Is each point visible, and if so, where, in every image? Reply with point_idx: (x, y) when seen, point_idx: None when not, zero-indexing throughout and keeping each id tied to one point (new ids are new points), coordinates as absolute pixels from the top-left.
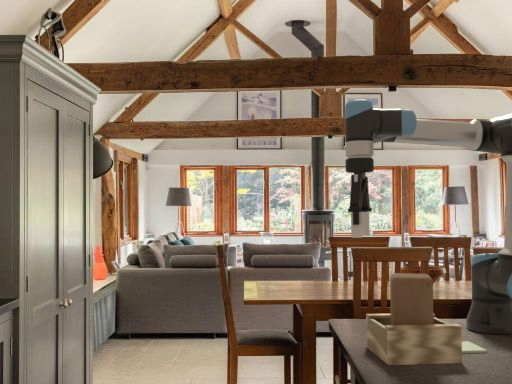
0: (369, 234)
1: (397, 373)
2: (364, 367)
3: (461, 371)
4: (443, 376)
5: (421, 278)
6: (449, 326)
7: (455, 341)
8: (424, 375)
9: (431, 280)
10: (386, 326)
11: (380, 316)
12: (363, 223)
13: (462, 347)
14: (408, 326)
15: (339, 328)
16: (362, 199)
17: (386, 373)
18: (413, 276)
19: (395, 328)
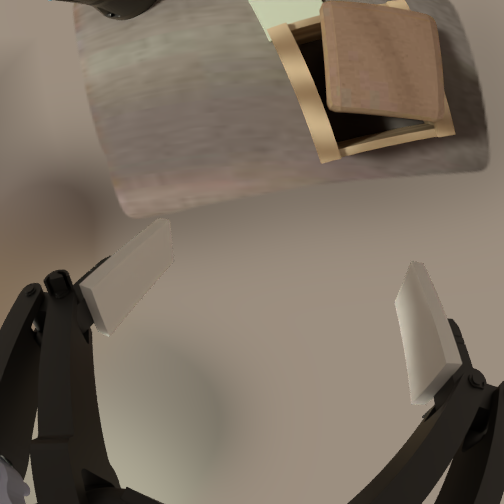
0: (158, 219)
1: (466, 125)
2: (445, 166)
3: None
4: (466, 68)
5: (437, 40)
6: None
7: None
8: (467, 91)
9: (433, 18)
10: (445, 135)
11: (332, 132)
12: (141, 275)
13: (297, 2)
14: None
15: (187, 203)
16: (86, 397)
17: (468, 140)
18: (420, 54)
19: (451, 121)
